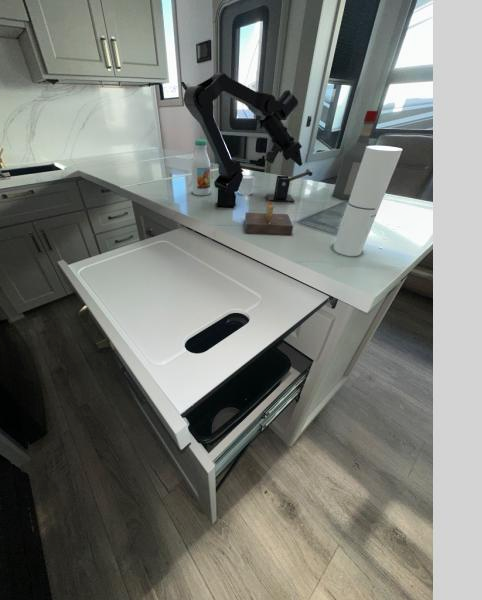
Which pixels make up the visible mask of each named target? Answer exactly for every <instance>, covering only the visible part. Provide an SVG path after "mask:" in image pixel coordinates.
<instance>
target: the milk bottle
mask: <svg viewBox="0 0 482 600" xmlns="http://www.w3.org/2000/svg"><path fill="white" fill-rule="evenodd" d="M207 145H208V140H207V139H195V140H194V147H195V151H194V155H193V158H192V159H191V160H192V161H191V189H192V194H193V195H195V196H208V195H210V193H211V160H210V157H209V155H208V151H207V148H208V147H207Z"/></svg>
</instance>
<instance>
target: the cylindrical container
mask: <svg viewBox="0 0 482 600" xmlns="http://www.w3.org/2000/svg"><path fill="white" fill-rule="evenodd" d="M402 152H403V148H401V147H396V146H390V145H370V146H367V147H366V150H365V153H364V156H363V159H362V162H361V165H360V168H359V171H358V174H357V177H356V180H355V183H354V186H353V189H352V192H351V195H350V198H349V201H348V202H347V205H346V208H345V211H344V214H343V217H342V219H341V223H340V227H339V229H338V233H337V235H336V238H335V242H334V245H333V251H335V252H336V253H337V254H340V255H343V256H347V257H356V256H360V255H361V254H362V251H363V249H364V247H365V244H366V242H367V239H368V236H369V234H370V231H371V230H372V226H373V224H374V222H375V219H376V217H377V215H378V211H379V209H380V207H381V205H382V203H383V200H384V198H385V194H386V192H387V189H388V187H389V184H390V182H391V179H392V177H393V175H394V172H395V170H396V168H397V165H398V162H399V160H400V158H401V154H402Z"/></svg>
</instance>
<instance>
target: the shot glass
mask: <svg viewBox="0 0 482 600" xmlns="http://www.w3.org/2000/svg"><path fill="white" fill-rule="evenodd" d="M255 179H256V177H255V176H254V175H250V174H243V178H242V181H241V184H240V186H239V189H238V194H239V195H242V196H250V195H252V193H253V189H254V184H255Z"/></svg>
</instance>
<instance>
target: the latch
mask: <svg viewBox="0 0 482 600" xmlns="http://www.w3.org/2000/svg"><path fill="white" fill-rule="evenodd" d="M306 176H309V177H312V176H313V172H312V171H311V169H309V168H307V169H306V170H305V171H304V172H302V173H299V174H295V175H294V176H291V177H289V178H290V182H292V181H295V180H297V179H300V178H303V177H306ZM284 178H286V177H284Z"/></svg>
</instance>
